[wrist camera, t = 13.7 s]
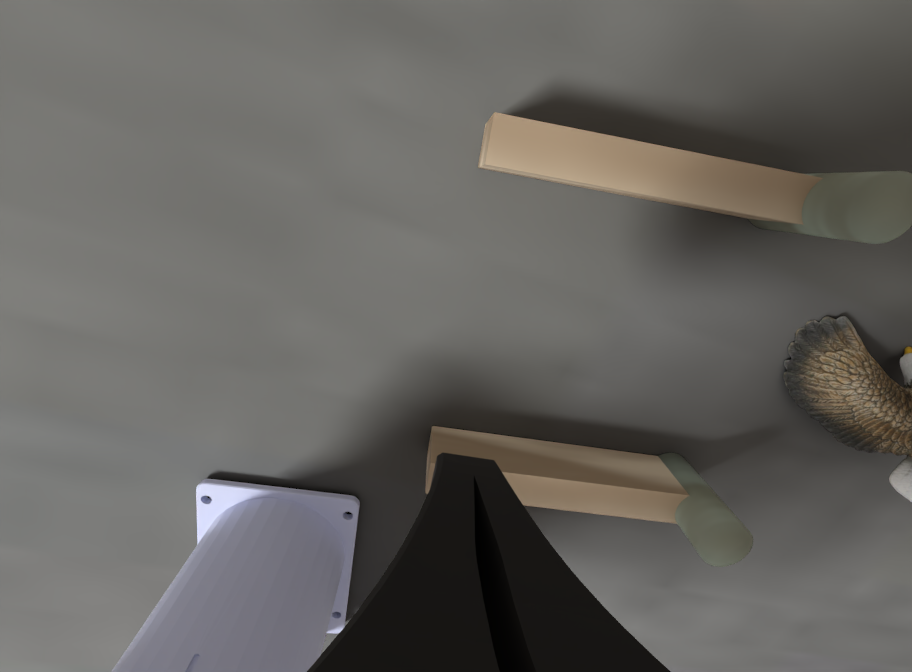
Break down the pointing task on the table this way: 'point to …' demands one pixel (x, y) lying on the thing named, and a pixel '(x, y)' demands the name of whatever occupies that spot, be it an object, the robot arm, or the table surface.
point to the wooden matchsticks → (684, 184)
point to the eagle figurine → (853, 392)
